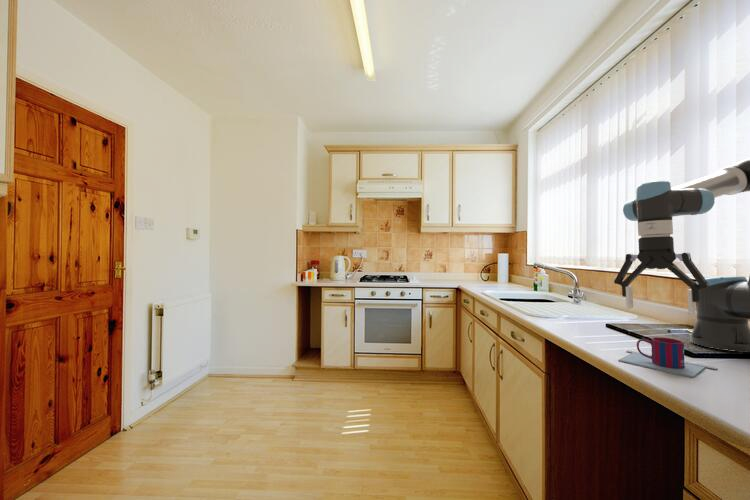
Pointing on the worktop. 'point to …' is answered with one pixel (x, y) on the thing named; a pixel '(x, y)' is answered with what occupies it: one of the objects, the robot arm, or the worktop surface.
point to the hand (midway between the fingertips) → (659, 310)
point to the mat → (647, 362)
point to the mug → (666, 352)
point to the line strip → (684, 361)
